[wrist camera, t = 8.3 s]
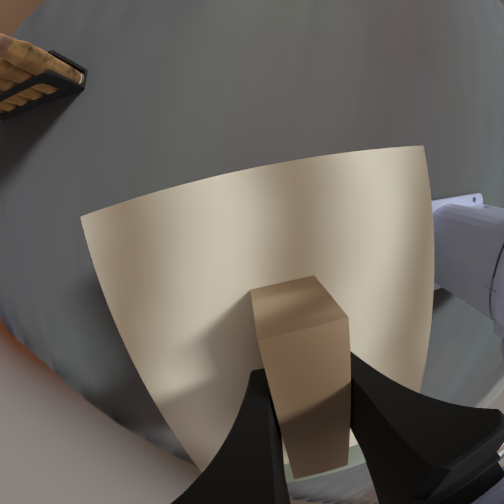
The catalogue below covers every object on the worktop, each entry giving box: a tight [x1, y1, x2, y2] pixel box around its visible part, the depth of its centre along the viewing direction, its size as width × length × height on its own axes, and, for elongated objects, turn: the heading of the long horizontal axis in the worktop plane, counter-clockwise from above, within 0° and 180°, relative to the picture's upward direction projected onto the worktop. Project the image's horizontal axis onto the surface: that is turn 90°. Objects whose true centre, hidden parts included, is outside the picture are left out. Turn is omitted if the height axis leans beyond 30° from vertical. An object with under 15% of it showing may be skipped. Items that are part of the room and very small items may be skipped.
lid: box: [81, 146, 434, 479], centre depth 10 cm, size 14×16×4 cm
